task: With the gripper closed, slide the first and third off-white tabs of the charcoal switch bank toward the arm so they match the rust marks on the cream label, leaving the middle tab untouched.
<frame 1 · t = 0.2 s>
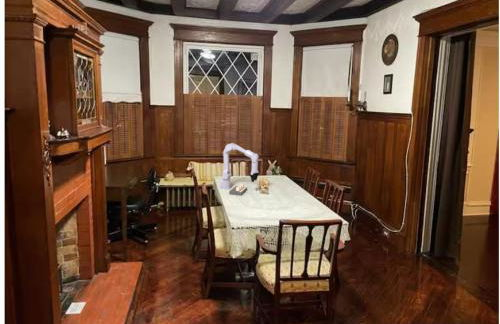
hand: (254, 181, 348), 10 cm above the table, fingers open, 7 cm apart
switch tab 2: (240, 187, 342), point 5 cm above the table, slide at 0.0 cm
switch bank: (238, 192, 343), on the table
switch tab 1: (237, 189, 336), point 5 cm above the table, slide at 0.0 cm
switch tab 3: (242, 185, 349), point 5 cm above the table, slide at 0.0 cm
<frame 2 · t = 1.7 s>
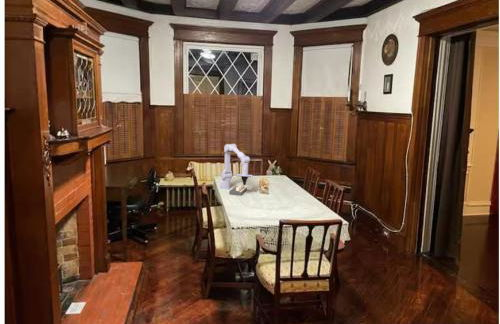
hand: (244, 184, 333), 9 cm above the table, fingers closed
nothing on the table moved.
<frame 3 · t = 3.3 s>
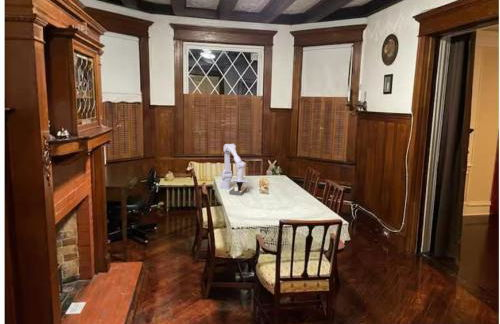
hand: (239, 190, 335), 4 cm above the table, fingers closed
switch tab 1: (236, 188, 336), point 5 cm above the table, slide at 1.3 cm, touching gripper
everything else where it was.
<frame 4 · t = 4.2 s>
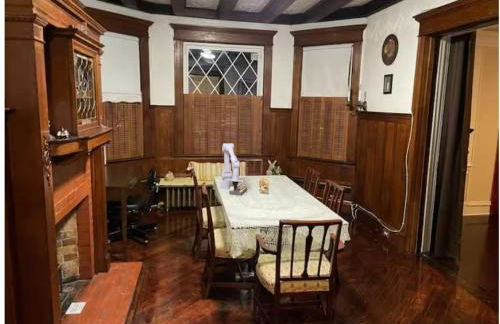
hand: (235, 189, 336), 4 cm above the table, fingers closed
switch tab 1: (232, 188, 337), point 5 cm above the table, slide at 5.2 cm, touching gripper
everything else where it was.
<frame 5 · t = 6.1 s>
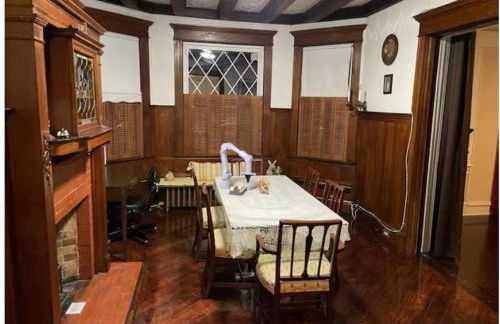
hand: (247, 182, 347), 8 cm above the table, fingers closed
switch tab 1: (232, 188, 337), point 5 cm above the table, slide at 5.1 cm
everything else where it was.
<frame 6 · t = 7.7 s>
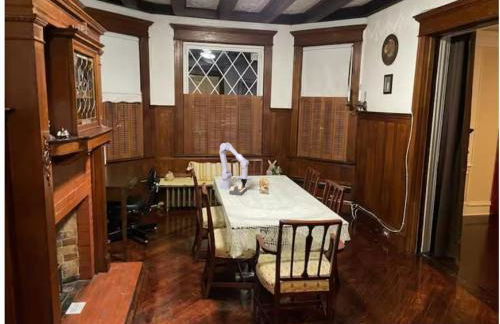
hand: (243, 186, 349), 4 cm above the table, fingers closed
switch tab 3: (241, 185, 349), point 5 cm above the table, slide at 0.9 cm, touching gripper
everything else where it was.
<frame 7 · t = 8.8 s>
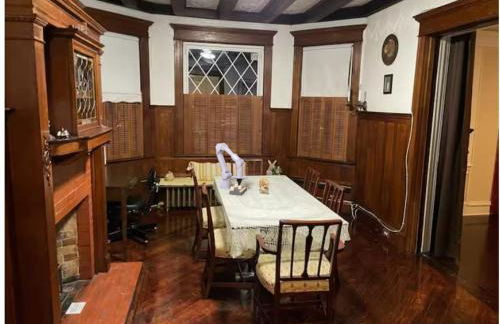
hand: (239, 186, 350), 4 cm above the table, fingers closed
switch tab 3: (236, 185, 350), point 5 cm above the table, slide at 5.2 cm, touching gripper
everything else where it was.
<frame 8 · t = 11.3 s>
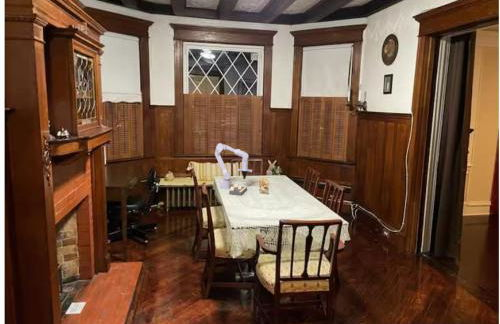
hand: (244, 178, 358), 9 cm above the table, fingers closed
switch tab 3: (236, 185, 350), point 5 cm above the table, slide at 5.1 cm
everything else where it was.
at the end: switch tab 1 slide at 5.1 cm; switch tab 3 slide at 5.1 cm; switch tab 2 slide at 0.0 cm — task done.
